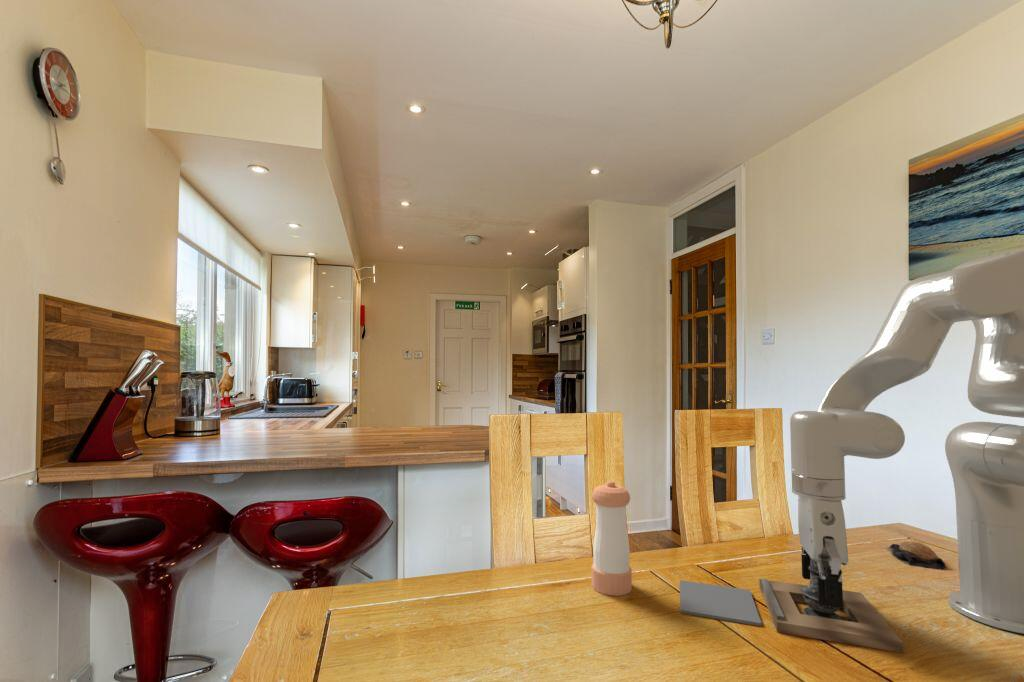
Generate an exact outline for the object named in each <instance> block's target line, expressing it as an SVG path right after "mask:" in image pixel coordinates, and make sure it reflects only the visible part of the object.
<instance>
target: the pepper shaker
mask: <svg viewBox="0 0 1024 682" xmlns="http://www.w3.org/2000/svg"><path fill="white" fill-rule="evenodd" d="M591 497H592V500H593V502H594V503H595V504H596V506H595V507H596V510H595V511H596V512H595V520H596V521H595V522H596V523H595V530H594V531H595V533H594V538H593V546H592V547H593V548H592V549H593V551H592V552H593V563H592V565H591V587H592V589H593V590H594V591H596V592H598V593H600V594H603V595H607V596H624V595H627V594H629V593H631V592H632V588H633V583H632V578H633V576H632V575H633V574H632V568H631V566H630V543H629V537H628V531H627V506H628V505H629V503H630V501H631V495H630V493H629V491H628V489H627V488H625V487H623V486H622V485H619V484H616V483H615V481H612V480H609V481H607V482H606V483H605V484H601V485H598V486H596V487H595V488H594V490H593V491H592V494H591Z"/></svg>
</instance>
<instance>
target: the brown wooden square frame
mask: <svg viewBox="0 0 1024 682" xmlns="http://www.w3.org/2000/svg"><path fill="white" fill-rule="evenodd" d="M758 582H759V583H758V584H759V590H760V592H761V595H762V597H763V599H764V603H765V604H766V607H767V611H768V613H769V614H770V617H771V619H772V623H773V624H774V627H775V630H776V633H781V634H788V635H792V636H799V637H806V638H812V639H817V640H824V641H829V642H835V643H840V644H848V645H854V646H855V645H856V646H860V647H865V648H872V649H879V650H883V651H891V652H896V653H904V641H903V640H902V639H901V638H900V637H899V635H898V634H897V633H896V632H895V630H894V629H893V628H892V627H891V626H890V624H889V623H887V621H886V620H885V619H884V618H883V617H882V615H881V613H879V612H878V611H877V609H876V608H875V607H874V605H872V603H871V602H870V601H869V600H868V598H866V596H865V595H864V594H863V593H862V592H860V591H859V592H858V591H852V590H851V591H850V590H844V589H842V590H843V607H842V608H841V609H842V611H844V613H845V614H846V616H847V617H848V619H849V621H848V620H843V619H841V620H837V619H830V618H824V617H817V616H810V615H805V614H804V613H801V612H800V611H799V609H798V607H797V606H796V603H803V604H807V603H806V602H805V600H804V598H803V593H802V592H801V588H802V587H803V586H808V585H807V584H801V583H799V584H798V583H792V582H785V581H784V582H783V581H776V580H768V579H765V578H761V579H760V578H759V581H758Z"/></svg>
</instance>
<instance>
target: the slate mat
mask: <svg viewBox="0 0 1024 682" xmlns="http://www.w3.org/2000/svg"><path fill="white" fill-rule="evenodd" d="M679 605H680V606H679V608H680V610H679V611H680V614H682V615H683V614H684V615H688V616H689V615H690V616H696V617H702V618H709V619H713V620H719V621H720V620H721V621H725V622H726V621H727V622H731V623H737V624H743V625H744V624H745V625H750V626H755V627H756V626H757V627H762V625H763V624H762V623H763V622H762V620H761V617H760V615H759V612H758V609H757V606H756V604H755V601H754V598H753V595H752V592H751V590H750V589H747V588H746V589H745V588H739V587H733V586H732V587H731V586H724V585H718V584H710V583H704V582H695V581H688V580H683V579H680V580H679Z"/></svg>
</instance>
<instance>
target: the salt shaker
mask: <svg viewBox="0 0 1024 682" xmlns="http://www.w3.org/2000/svg"><path fill="white" fill-rule="evenodd" d="M820 557H821V558H828V557H822V556H820ZM823 566H824V571H825V568H826V566H829V565H826V564H823ZM808 569H809V570H810V580H809V583H808V585H807V586H803V587H802V588H801V592H802V593H803V598H804V600H805V602H806V603H805V604H806V605H808V607H806V608H804V609H803V613H802V614H804V615H810V616H817V617H824V618H830V619H837V620H842V617H840V615H838V614H837V613H836V612H838V611H839V610H840V608H839V607H832V606H825V605H821V604H819V602H818V584H817V577H820V575H819V570H818V565H817V562H816V561H814V560H813V559H812V558H811V557H810V566H808Z"/></svg>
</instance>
